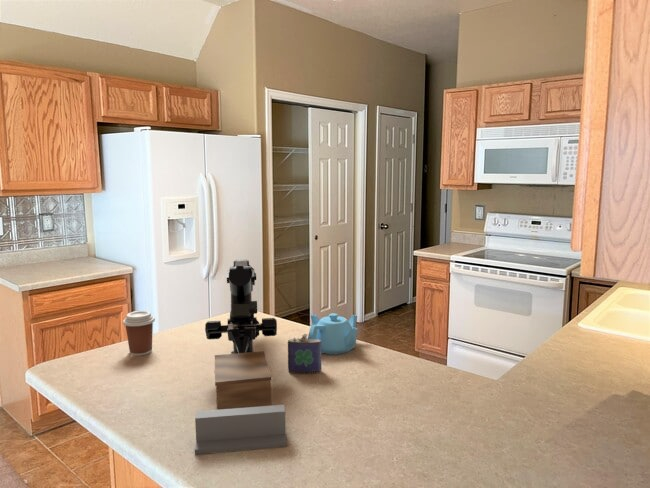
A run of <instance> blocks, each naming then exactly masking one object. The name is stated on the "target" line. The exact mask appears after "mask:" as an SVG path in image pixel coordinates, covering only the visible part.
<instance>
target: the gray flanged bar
mask: <svg viewBox="0 0 650 488" xmlns="http://www.w3.org/2000/svg"><path fill="white" fill-rule="evenodd" d="M285 409H286V408H285V404H277V405H276V404H275V405H271V406H260V407H247V408H234V409H220V410H217V409H211V410H207V409H206V410H198V411H197V410H196V413H195V419H194V424H195V440H196V442H195V446H194V447H195V448H194V455H205V454H207V455H208V454H215V453H226V452H239V451H248V450H249V451H250V450H261V449H271V448H272V449H273V448H274V449H275V448H284V447H287V446H288V445H287V435H286V410H285Z"/></svg>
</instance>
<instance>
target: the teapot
mask: <svg viewBox="0 0 650 488" xmlns="http://www.w3.org/2000/svg"><path fill="white" fill-rule="evenodd" d="M310 319H311V323H312V324H311V325H310V328H309V332H308V334H307V340H315V339H319V340H321V354H326V355H341V354H345V353H349V352H351V350H352V349H354V347H355V346H356V344H357V334H358V331H359V328H357V327H356V326H357V321H358V315H357V314H351V316H350V318H349V319H347V318H345V317H343V316H339V314H338V313H333V312H332V313H329V314H328V316H327V315H326V316H323V317H321V318H320V319H319V318H318V315H317V314H311V315H310Z"/></svg>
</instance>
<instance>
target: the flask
mask: <svg viewBox="0 0 650 488" xmlns="http://www.w3.org/2000/svg"><path fill="white" fill-rule="evenodd" d="M307 339H308V334H306V333H303V334H302V335H301V337H300V338H298V337H297V338H296V337H294V338H290V339H288V340H287V370H288V373H290V374H298V375H299V374H300V375H302V374H306V375H308V374H320V373H321V372H322V353H321V340H319V339H315V340H307Z"/></svg>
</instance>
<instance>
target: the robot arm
mask: <svg viewBox="0 0 650 488" xmlns="http://www.w3.org/2000/svg"><path fill="white" fill-rule="evenodd" d="M255 281H257V273H256V272H255V268H253V267H252V266H251V265H250V260H248V259H236V260H233V265H232V266H229V270H227V271H226V284H229V291H230V312H229V318H227V324H222V323H221V320H208V321H206V323H205V325H204V326H205V328H204V331H205V335H206V339H207V340H219V339H220V338H222V336H223V335H222V333H223V334H227V339H228V341H229V342H232V344H233V347H232V348H233V350H232V351H230V354H236V353H247V352H255V351H254V342H253V340H256V338H258V337H259V336H260V331H261V334H262V335H263V336H264V337H275V336H277V332H278V331H277V330H278V324H277V323H278V321H277V319H276V318H275V317H267V318H263V317H262V318H261V322H259V320H258V319H257V316H256V317H255V315H256V314H258V301H257V300H252V299H253V298H252V292H253V290H254V288H253V287H254V286H255V285H256V282H255Z"/></svg>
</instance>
